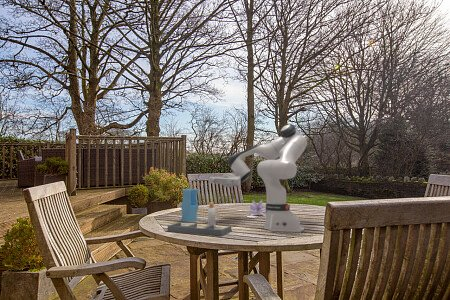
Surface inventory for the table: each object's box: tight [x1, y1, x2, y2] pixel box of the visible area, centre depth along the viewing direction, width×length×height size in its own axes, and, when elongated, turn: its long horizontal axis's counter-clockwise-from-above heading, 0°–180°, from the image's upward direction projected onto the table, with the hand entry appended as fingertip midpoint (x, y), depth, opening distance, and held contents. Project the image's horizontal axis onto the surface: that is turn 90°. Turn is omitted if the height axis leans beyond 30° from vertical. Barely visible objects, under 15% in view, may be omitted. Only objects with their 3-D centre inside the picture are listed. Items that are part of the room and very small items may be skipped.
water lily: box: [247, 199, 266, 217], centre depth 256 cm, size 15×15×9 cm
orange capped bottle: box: [206, 201, 217, 228], centre depth 208 cm, size 5×5×14 cm
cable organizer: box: [167, 221, 233, 237], centre depth 193 cm, size 32×14×3 cm, turn 67°
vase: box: [180, 188, 199, 223], centre depth 229 cm, size 8×8×20 cm
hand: (219, 181), depth 219 cm, fingers open, 8 cm apart
